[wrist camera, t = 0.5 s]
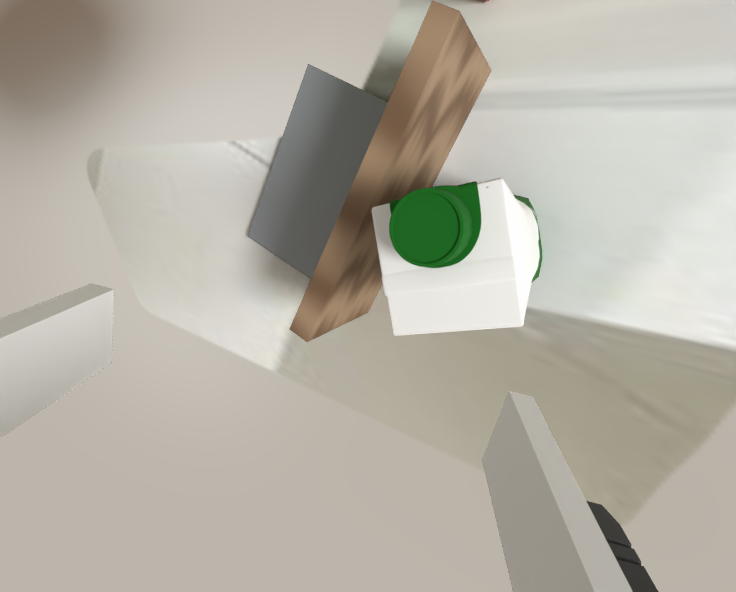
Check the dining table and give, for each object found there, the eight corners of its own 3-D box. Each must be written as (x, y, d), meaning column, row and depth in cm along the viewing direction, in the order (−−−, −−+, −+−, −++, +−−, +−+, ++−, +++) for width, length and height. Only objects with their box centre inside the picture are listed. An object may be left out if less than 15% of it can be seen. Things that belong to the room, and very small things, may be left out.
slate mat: (313, 66, 44) (308, 63, 43) (417, 117, 40) (413, 114, 39) (253, 235, 51) (247, 236, 50) (335, 291, 47) (331, 292, 46)
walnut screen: (471, 61, 37) (432, 0, 27) (491, 70, 37) (459, 11, 26) (353, 303, 47) (289, 329, 36) (367, 312, 46) (307, 342, 35)
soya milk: (538, 185, 37) (508, 158, 19) (551, 286, 38) (534, 351, 20) (441, 206, 41) (342, 199, 23) (455, 297, 42) (370, 358, 24)
